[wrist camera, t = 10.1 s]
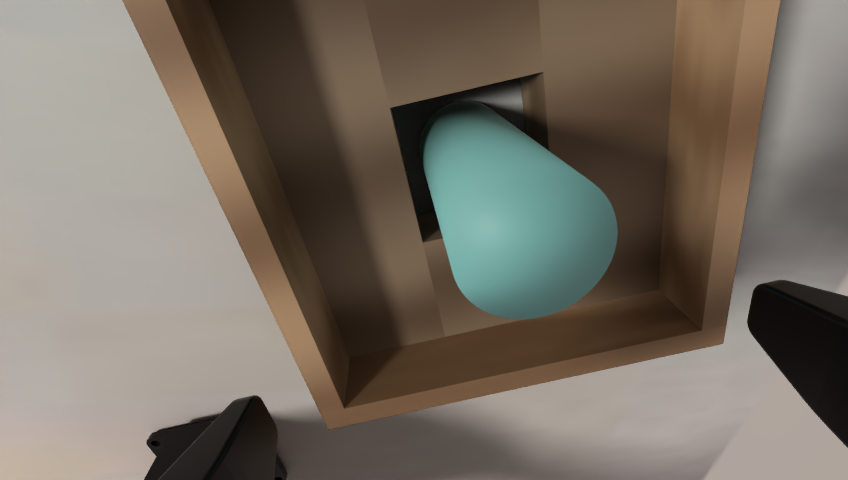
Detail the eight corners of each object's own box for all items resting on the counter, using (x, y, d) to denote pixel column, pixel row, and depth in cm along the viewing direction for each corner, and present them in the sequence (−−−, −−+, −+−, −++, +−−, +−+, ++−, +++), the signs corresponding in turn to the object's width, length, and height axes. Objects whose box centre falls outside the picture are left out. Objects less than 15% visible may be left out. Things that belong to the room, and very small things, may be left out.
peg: (511, 177, 19) (617, 300, 11) (429, 196, 20) (465, 333, 11) (501, 90, 18) (618, 149, 9) (410, 112, 18) (435, 192, 9)
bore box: (643, 269, 22) (723, 343, 17) (341, 336, 23) (328, 429, 18) (661, -162, 14) (826, -278, 9) (191, -45, 15) (79, -90, 9)
